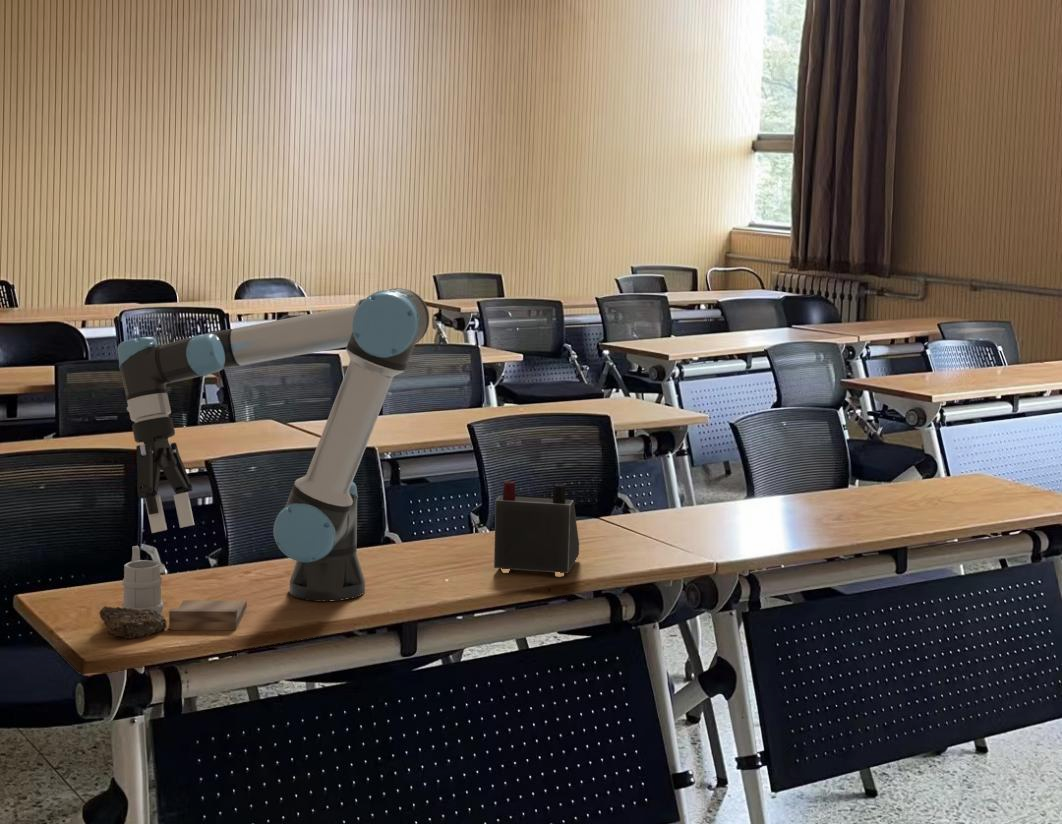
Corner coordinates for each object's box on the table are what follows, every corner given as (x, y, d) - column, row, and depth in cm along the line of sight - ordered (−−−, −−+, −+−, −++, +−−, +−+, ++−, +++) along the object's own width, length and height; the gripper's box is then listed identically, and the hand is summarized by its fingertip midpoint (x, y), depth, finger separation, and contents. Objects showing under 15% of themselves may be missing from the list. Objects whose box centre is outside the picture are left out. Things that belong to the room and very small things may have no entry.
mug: (126, 623, 254) (124, 559, 253) (114, 606, 265) (112, 545, 263) (167, 618, 258) (166, 556, 256) (154, 602, 268) (153, 542, 267)
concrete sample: (105, 645, 242) (105, 617, 241) (97, 628, 251) (96, 602, 250) (171, 637, 247) (171, 610, 246) (161, 622, 256) (160, 596, 255)
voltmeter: (578, 561, 309) (581, 473, 306) (567, 579, 293) (570, 487, 290) (508, 556, 311) (510, 469, 309) (493, 574, 295) (495, 482, 293)
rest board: (246, 608, 266) (246, 590, 265) (235, 630, 252) (235, 611, 251) (183, 607, 265) (183, 590, 264) (169, 629, 251) (169, 611, 250)
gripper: (159, 423, 274) (180, 528, 273) (104, 423, 250) (127, 537, 249) (194, 415, 273) (216, 520, 272) (142, 414, 249) (166, 529, 248)
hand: (173, 529), depth 261 cm, fingers open, 13 cm apart
